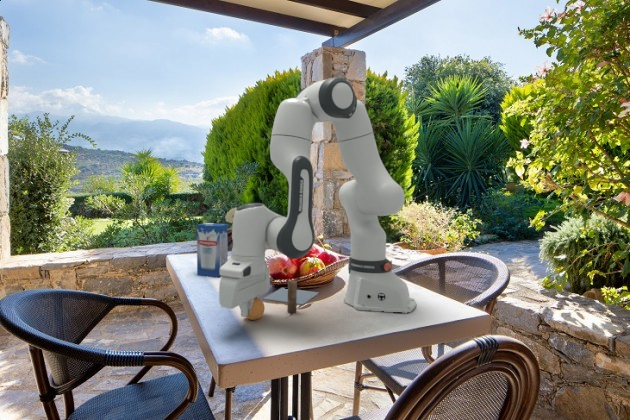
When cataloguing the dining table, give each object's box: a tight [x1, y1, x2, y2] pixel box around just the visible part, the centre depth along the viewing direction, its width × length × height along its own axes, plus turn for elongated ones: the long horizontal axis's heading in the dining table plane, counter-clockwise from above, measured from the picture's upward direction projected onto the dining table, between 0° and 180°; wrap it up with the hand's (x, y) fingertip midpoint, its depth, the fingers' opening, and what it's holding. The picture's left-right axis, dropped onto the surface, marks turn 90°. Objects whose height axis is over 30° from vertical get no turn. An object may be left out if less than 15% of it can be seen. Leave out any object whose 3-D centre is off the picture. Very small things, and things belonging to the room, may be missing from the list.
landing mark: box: [262, 287, 320, 306], centre depth 134 cm, size 14×14×1 cm
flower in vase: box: [224, 207, 238, 260], centre depth 181 cm, size 13×11×25 cm
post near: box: [286, 279, 298, 314], centre depth 118 cm, size 3×3×9 cm
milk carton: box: [196, 222, 229, 279], centre depth 159 cm, size 10×6×20 cm, turn 72°
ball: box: [246, 297, 266, 321], centre depth 112 cm, size 6×6×6 cm
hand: (245, 315), depth 108 cm, fingers closed
